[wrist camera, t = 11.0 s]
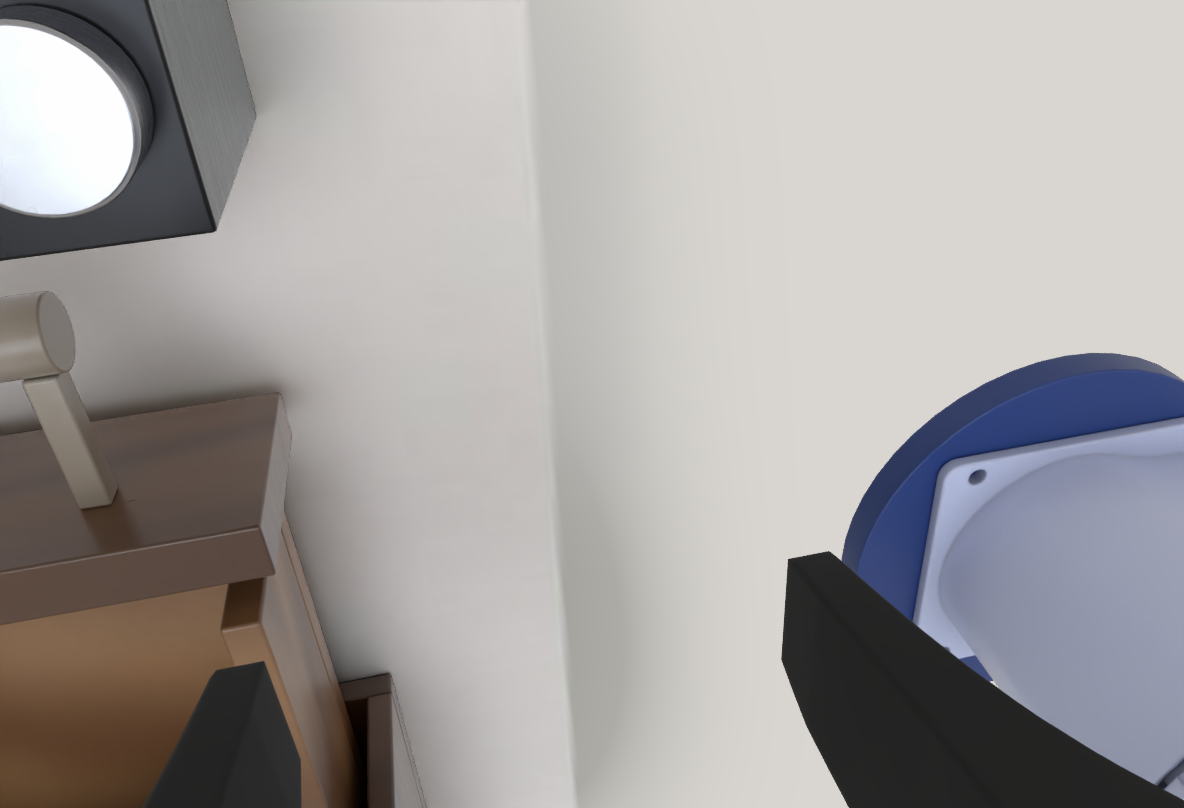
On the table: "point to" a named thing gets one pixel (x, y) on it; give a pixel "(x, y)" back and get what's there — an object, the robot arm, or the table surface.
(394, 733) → the cabinet
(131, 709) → the drawer
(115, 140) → the push button
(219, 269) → the table surface
